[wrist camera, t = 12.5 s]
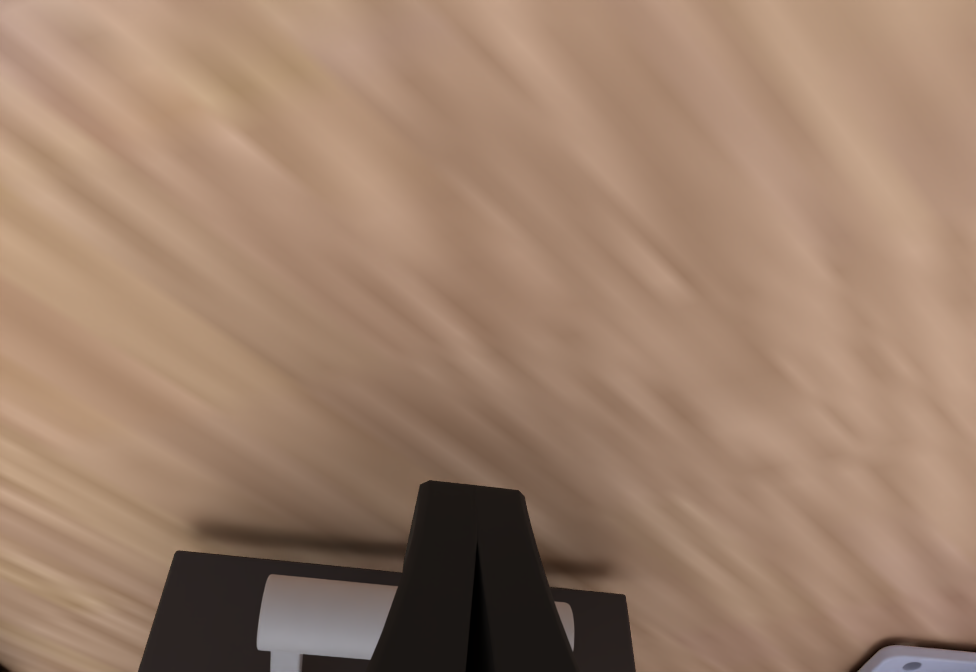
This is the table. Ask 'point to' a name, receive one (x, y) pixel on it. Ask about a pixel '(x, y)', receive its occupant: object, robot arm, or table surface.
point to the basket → (323, 618)
